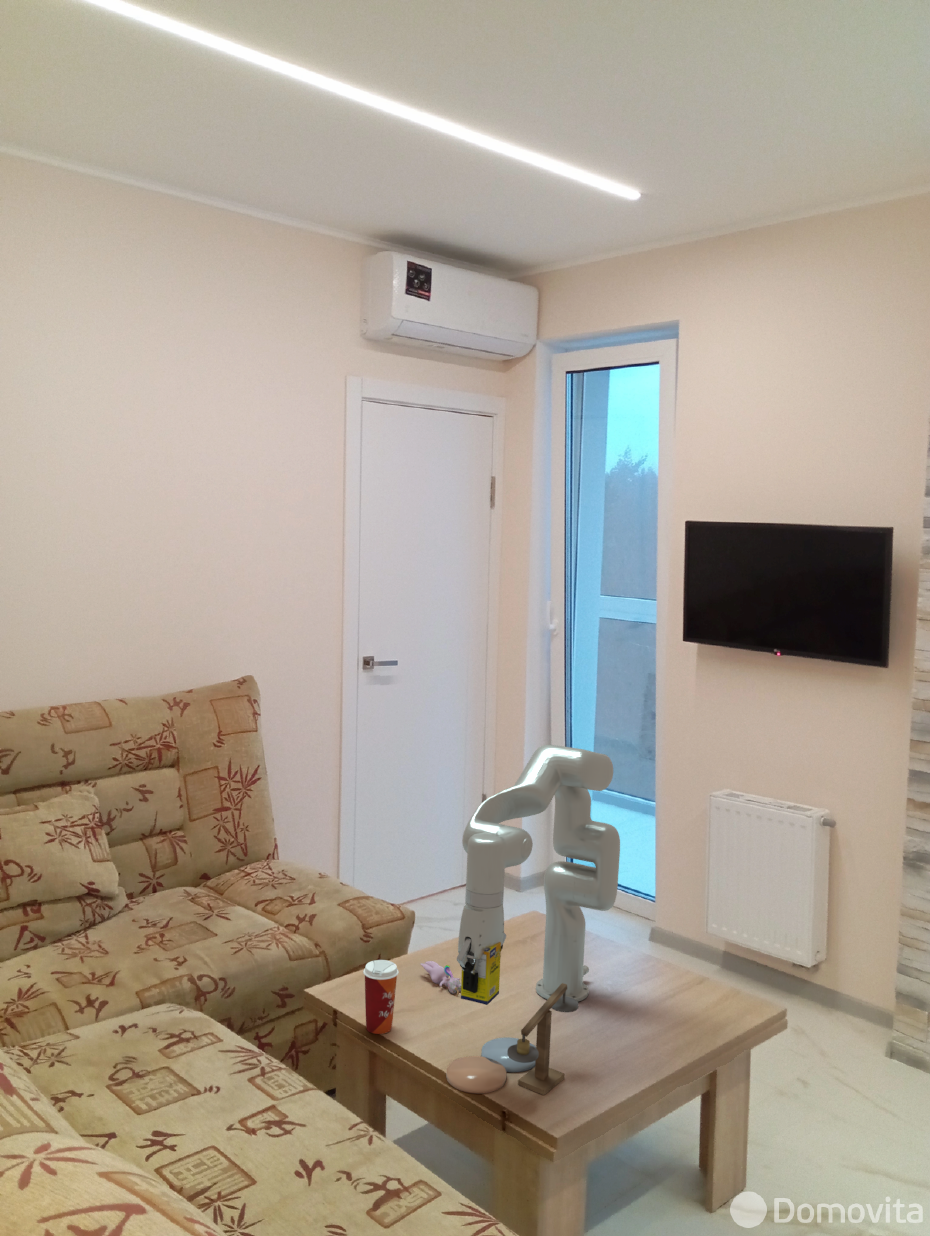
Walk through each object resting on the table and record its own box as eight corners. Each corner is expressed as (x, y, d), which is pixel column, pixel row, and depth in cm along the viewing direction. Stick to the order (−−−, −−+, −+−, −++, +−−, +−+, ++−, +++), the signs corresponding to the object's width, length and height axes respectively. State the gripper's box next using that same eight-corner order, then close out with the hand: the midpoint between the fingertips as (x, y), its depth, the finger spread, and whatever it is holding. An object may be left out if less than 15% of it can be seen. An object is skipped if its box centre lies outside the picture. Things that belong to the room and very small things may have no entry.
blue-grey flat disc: (501, 1037, 218) (502, 1031, 218) (549, 1055, 211) (549, 1049, 211) (470, 1059, 208) (470, 1053, 208) (519, 1078, 201) (519, 1073, 201)
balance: (555, 1055, 211) (559, 974, 209) (580, 1065, 207) (584, 982, 206) (499, 1099, 193) (503, 1011, 192) (525, 1110, 190) (530, 1020, 189)
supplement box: (499, 994, 201) (501, 941, 200) (487, 1006, 196) (489, 951, 195) (472, 987, 204) (474, 935, 203) (460, 999, 198) (462, 945, 197)
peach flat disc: (468, 1055, 209) (469, 1050, 209) (517, 1075, 202) (517, 1069, 202) (434, 1079, 199) (434, 1073, 199) (484, 1100, 193) (484, 1094, 192)
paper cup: (391, 1038, 215) (393, 975, 214) (356, 1033, 216) (358, 971, 215) (400, 1022, 222) (402, 960, 221) (367, 1017, 224) (369, 956, 223)
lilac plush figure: (470, 997, 239) (431, 966, 250) (474, 974, 238) (435, 944, 249) (451, 1004, 235) (412, 972, 246) (454, 981, 234) (415, 950, 245)
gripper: (493, 881, 207) (489, 965, 209) (443, 904, 193) (439, 994, 195) (523, 890, 203) (519, 975, 204) (475, 914, 189) (471, 1005, 190)
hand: (480, 983), depth 200 cm, fingers closed on supplement box, 6 cm apart
